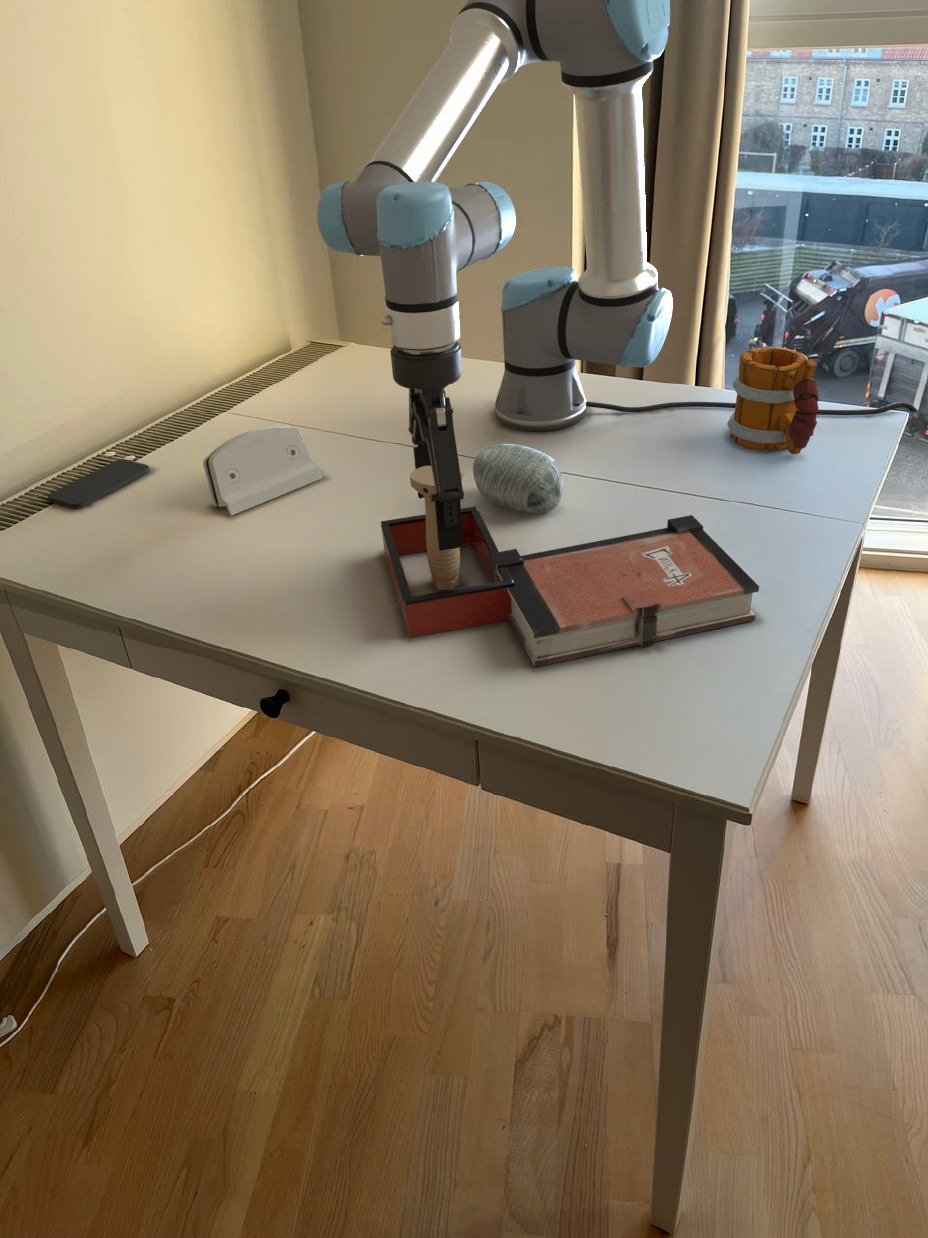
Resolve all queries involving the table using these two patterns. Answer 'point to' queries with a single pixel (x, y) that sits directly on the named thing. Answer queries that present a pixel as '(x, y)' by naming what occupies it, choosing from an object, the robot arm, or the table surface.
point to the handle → (444, 561)
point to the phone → (98, 483)
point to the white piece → (258, 467)
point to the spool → (518, 477)
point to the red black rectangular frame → (447, 605)
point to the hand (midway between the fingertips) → (439, 520)
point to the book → (623, 592)
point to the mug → (774, 400)
